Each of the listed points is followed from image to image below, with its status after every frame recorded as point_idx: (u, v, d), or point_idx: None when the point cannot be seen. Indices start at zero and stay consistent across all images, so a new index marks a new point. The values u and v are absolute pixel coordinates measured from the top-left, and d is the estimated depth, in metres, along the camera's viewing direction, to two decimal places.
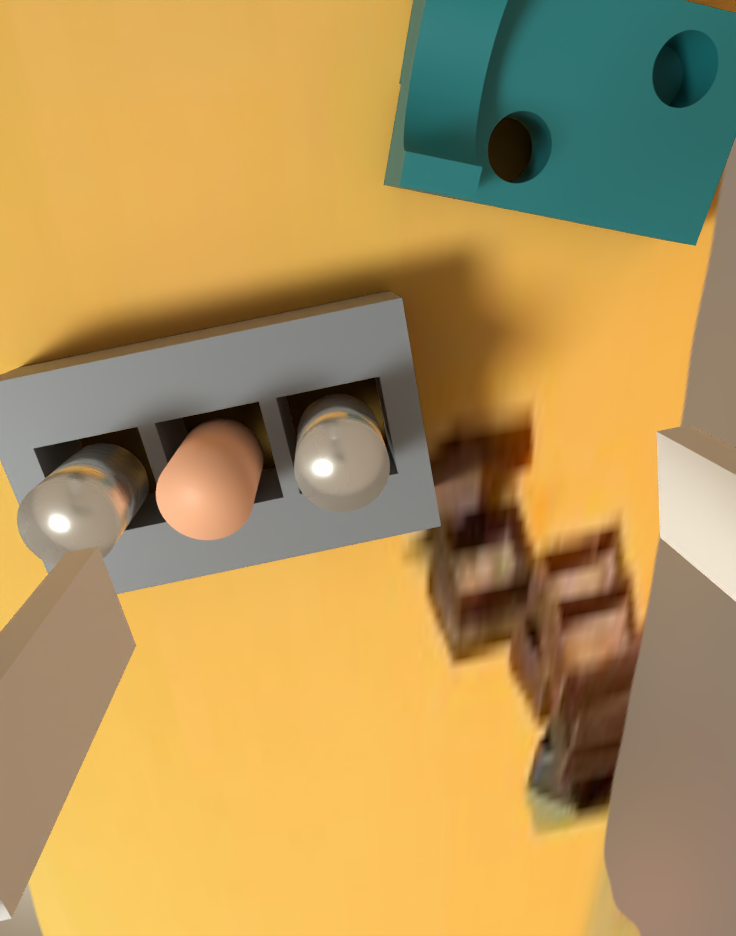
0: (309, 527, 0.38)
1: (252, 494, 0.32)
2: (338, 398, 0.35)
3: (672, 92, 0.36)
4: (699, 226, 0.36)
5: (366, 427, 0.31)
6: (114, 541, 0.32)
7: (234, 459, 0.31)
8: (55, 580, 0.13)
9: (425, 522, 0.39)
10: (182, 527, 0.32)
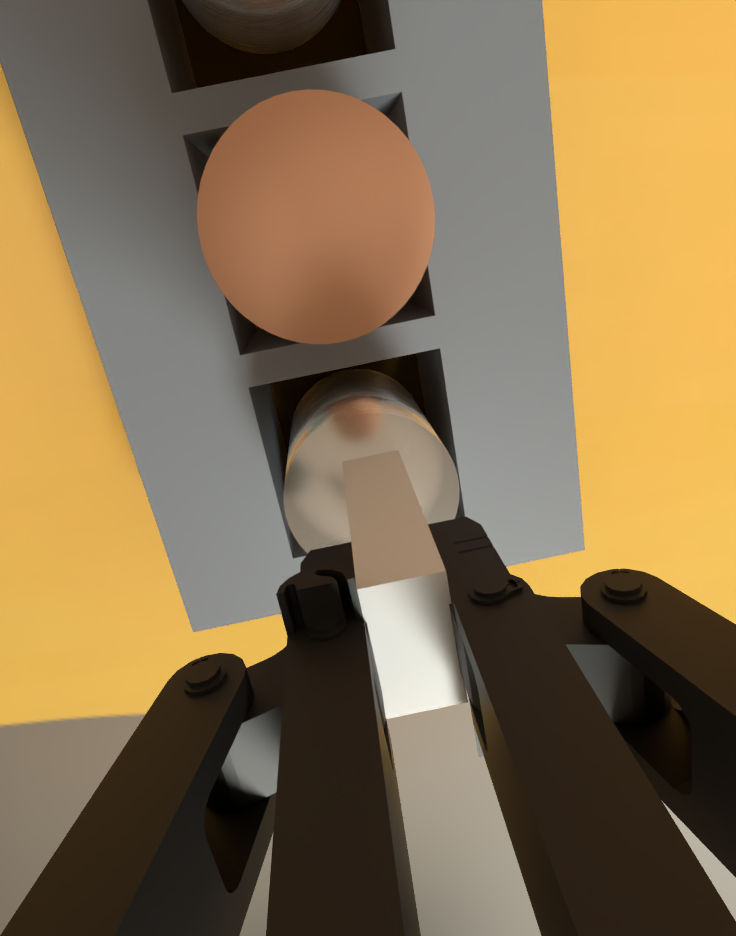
0: (478, 30, 0.17)
1: (312, 92, 0.12)
2: None
3: None
4: None
5: None
6: (409, 421, 0.16)
7: (222, 140, 0.12)
8: (357, 477, 0.15)
9: None
10: (396, 290, 0.13)
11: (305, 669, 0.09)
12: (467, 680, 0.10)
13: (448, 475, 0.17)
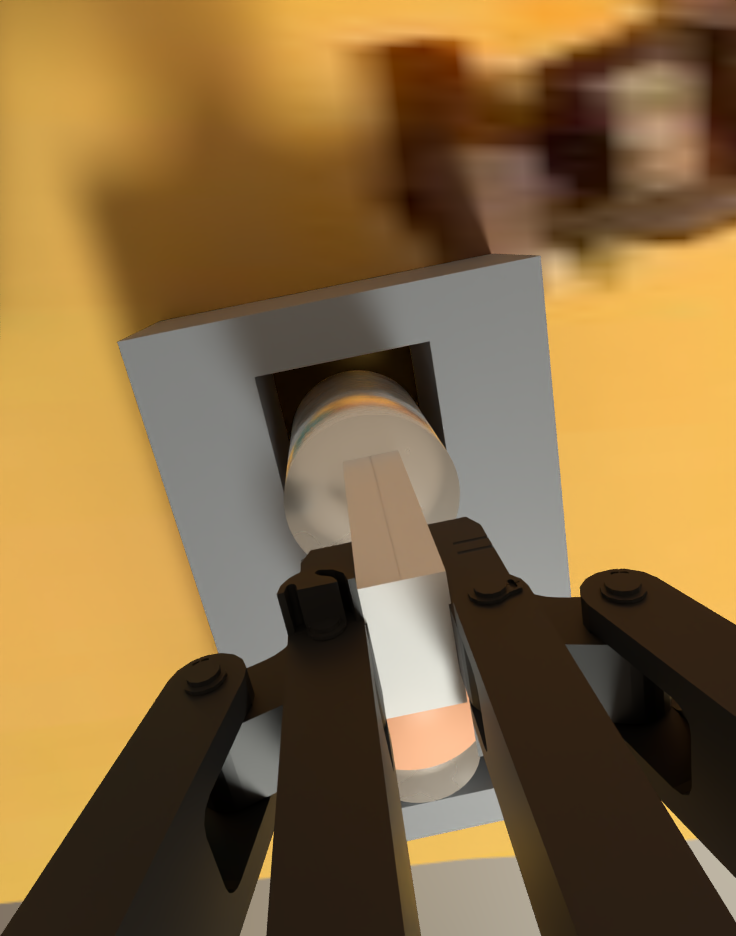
0: (514, 488, 0.23)
1: None
2: None
3: None
4: None
5: (295, 456, 0.17)
6: None
7: None
8: (358, 477, 0.15)
9: (529, 286, 0.21)
10: (464, 738, 0.20)
11: (305, 669, 0.09)
12: (467, 680, 0.10)
13: (473, 744, 0.26)
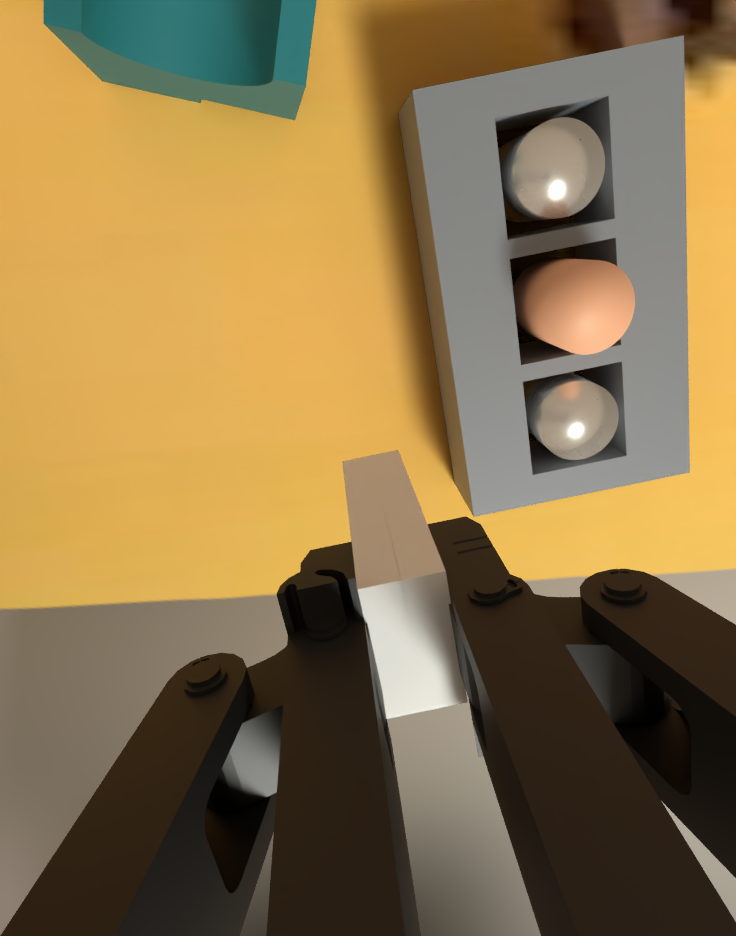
0: (654, 209, 0.34)
1: (594, 261, 0.32)
2: None
3: None
4: None
5: (523, 142, 0.33)
6: (599, 386, 0.37)
7: (556, 277, 0.32)
8: (358, 477, 0.15)
9: (675, 57, 0.32)
10: (617, 333, 0.33)
11: (305, 669, 0.09)
12: (467, 680, 0.10)
13: (614, 411, 0.38)
